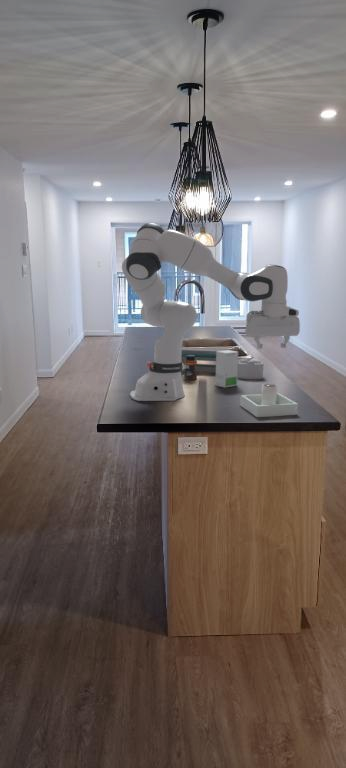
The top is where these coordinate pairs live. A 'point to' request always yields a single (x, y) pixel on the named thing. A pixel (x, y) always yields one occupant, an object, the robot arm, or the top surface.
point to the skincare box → (226, 368)
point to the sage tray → (268, 406)
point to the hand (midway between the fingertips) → (271, 348)
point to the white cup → (268, 394)
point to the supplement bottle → (190, 368)
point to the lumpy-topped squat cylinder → (250, 369)
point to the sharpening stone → (202, 357)
